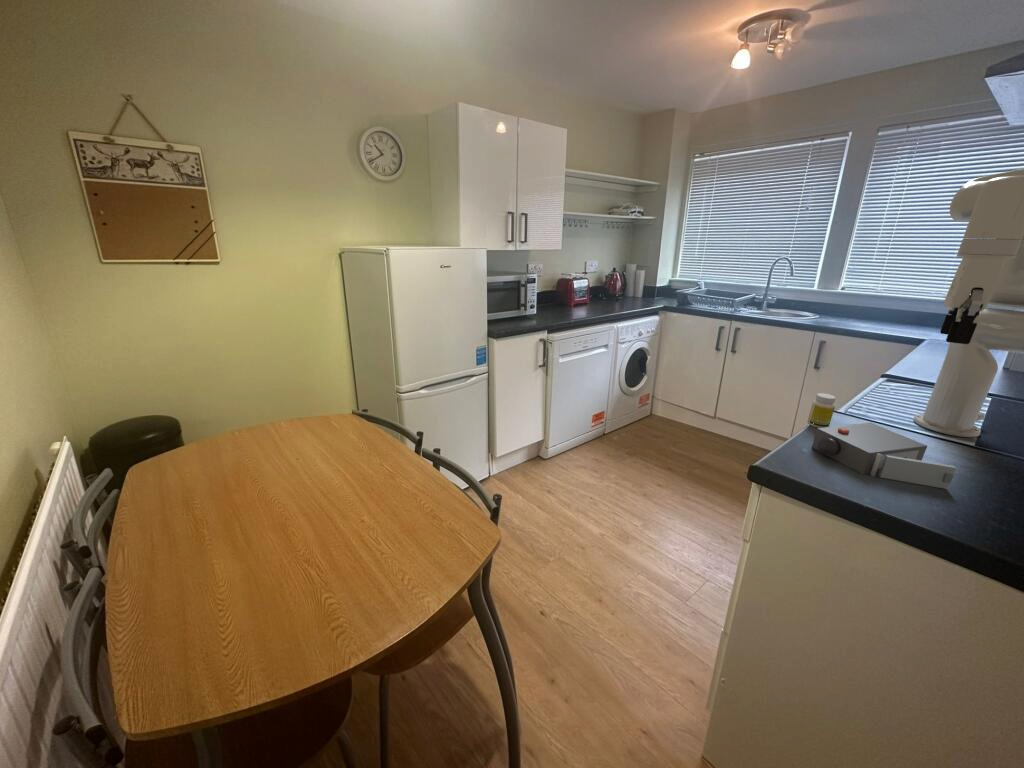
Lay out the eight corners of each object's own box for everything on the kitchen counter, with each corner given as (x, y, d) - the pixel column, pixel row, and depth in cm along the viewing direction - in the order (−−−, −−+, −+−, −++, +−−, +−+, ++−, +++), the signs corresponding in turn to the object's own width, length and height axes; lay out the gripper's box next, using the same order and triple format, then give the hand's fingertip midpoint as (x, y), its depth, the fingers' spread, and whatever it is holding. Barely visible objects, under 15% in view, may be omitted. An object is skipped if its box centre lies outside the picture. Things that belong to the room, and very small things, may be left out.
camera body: (864, 441, 102) (871, 420, 100) (926, 469, 90) (935, 446, 88) (805, 447, 98) (811, 426, 96) (861, 478, 86) (870, 454, 84)
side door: (944, 486, 83) (953, 465, 82) (949, 490, 82) (958, 469, 80) (878, 475, 87) (885, 455, 85) (881, 479, 86) (889, 458, 84)
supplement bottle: (832, 429, 108) (841, 399, 105) (812, 428, 109) (820, 398, 106) (823, 422, 112) (831, 393, 109) (803, 420, 113) (811, 391, 110)
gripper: (953, 248, 86) (924, 329, 92) (966, 249, 74) (932, 343, 80) (1006, 249, 82) (972, 334, 88) (1030, 251, 69) (989, 350, 75)
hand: (953, 338), depth 84 cm, fingers open, 9 cm apart
